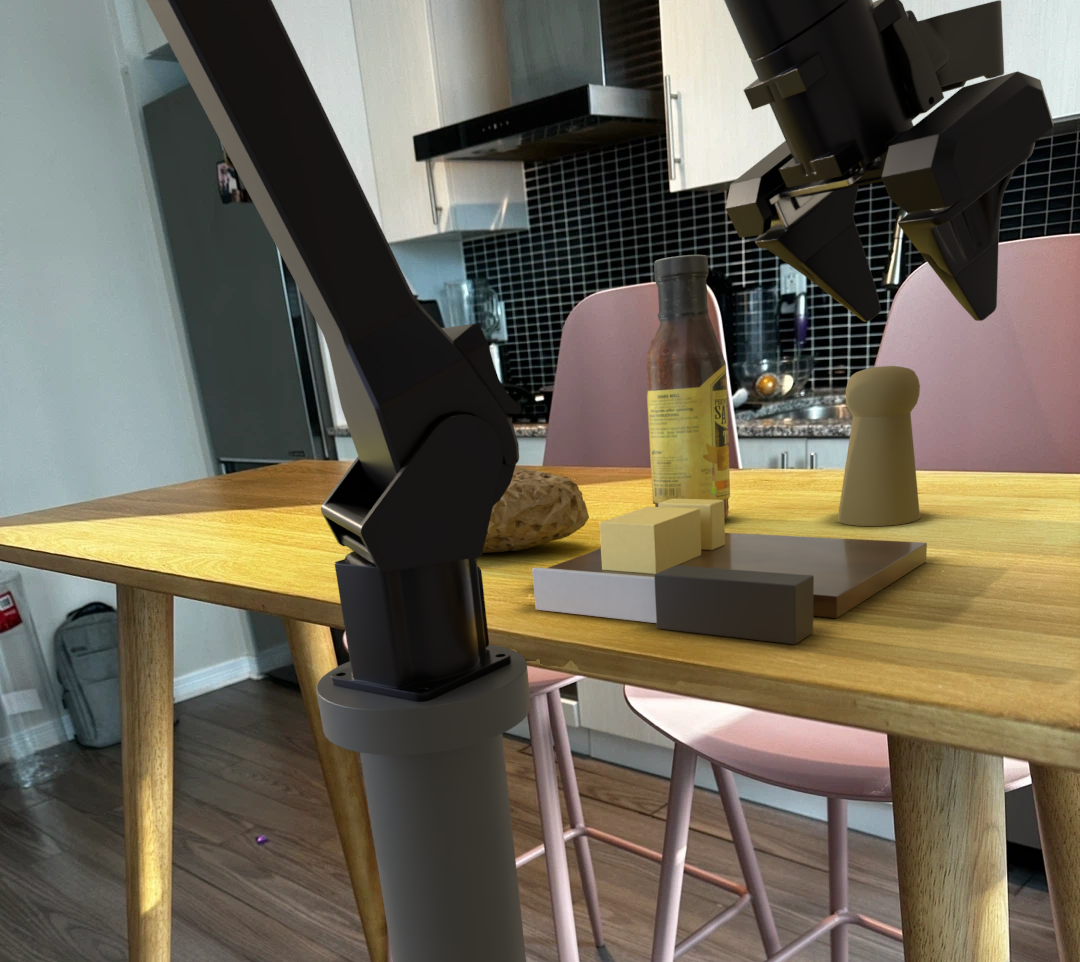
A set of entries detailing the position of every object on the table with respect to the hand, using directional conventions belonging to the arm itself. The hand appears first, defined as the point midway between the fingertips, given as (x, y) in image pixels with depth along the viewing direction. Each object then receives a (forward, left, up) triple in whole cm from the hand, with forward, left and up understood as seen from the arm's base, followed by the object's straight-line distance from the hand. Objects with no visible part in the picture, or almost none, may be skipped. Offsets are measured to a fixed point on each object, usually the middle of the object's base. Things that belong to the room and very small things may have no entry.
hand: (925, 316), depth 55 cm
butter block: (-5, +15, -13) cm, 21 cm away
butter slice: (0, +15, -13) cm, 20 cm away
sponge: (0, +35, -15) cm, 38 cm away
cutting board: (-2, +11, -14) cm, 18 cm away
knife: (-13, +9, -14) cm, 22 cm away
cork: (+18, +9, -15) cm, 24 cm away
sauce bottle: (+14, +23, -15) cm, 30 cm away
